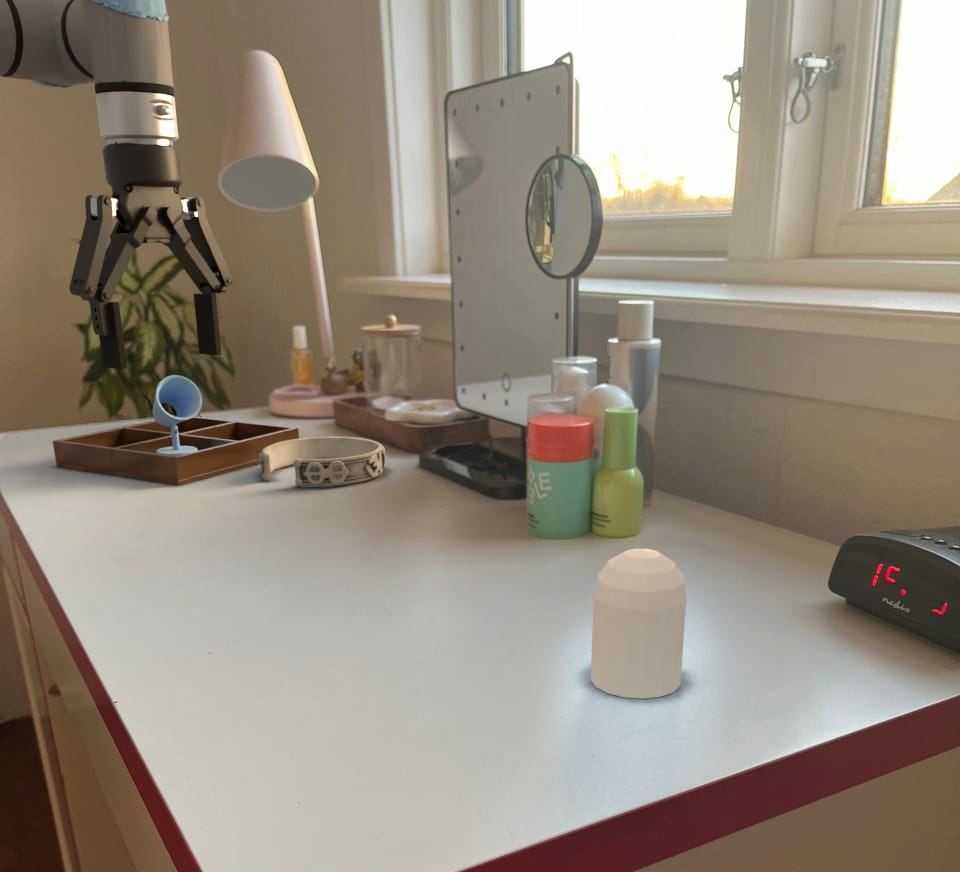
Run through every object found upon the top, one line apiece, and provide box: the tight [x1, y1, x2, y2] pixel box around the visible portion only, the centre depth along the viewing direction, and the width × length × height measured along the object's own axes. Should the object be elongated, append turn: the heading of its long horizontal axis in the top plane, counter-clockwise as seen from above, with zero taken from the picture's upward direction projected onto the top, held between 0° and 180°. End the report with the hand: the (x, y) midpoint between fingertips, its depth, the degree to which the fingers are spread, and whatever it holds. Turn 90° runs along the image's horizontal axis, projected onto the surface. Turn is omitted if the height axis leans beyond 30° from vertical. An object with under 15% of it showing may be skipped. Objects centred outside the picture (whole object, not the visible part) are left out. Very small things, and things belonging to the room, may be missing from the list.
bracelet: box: [259, 435, 387, 488], centre depth 113 cm, size 14×14×3 cm
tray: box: [52, 416, 300, 486], centre depth 121 cm, size 20×20×3 cm
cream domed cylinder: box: [590, 548, 687, 700], centre depth 59 cm, size 5×5×8 cm
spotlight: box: [151, 374, 203, 456], centre depth 113 cm, size 5×10×7 cm
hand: (165, 361), depth 111 cm, fingers open, 13 cm apart
